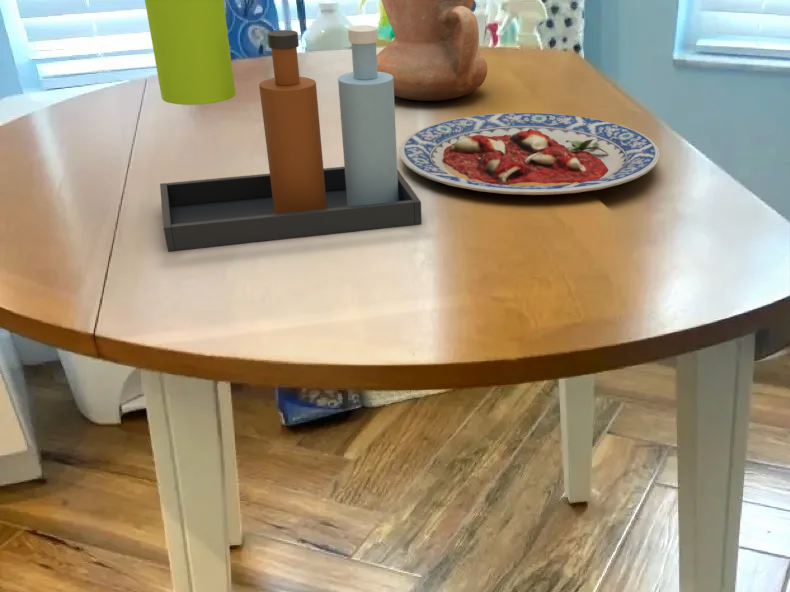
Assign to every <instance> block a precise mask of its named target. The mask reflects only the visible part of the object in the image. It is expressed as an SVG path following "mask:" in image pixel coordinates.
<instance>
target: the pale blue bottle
mask: <svg viewBox="0 0 790 592" xmlns="http://www.w3.org/2000/svg"><path fill="white" fill-rule="evenodd" d="M378 29H379V28H378V27H377V26H375V25H367V24H366V25H365V24H364V25H363V24H362V25H354V26H350V27H348V28H347V37H348V42H349V43H350V44H351V58H352V71H351V72H347V73H344V74H341V75H339V76H338V78H337V82H338V83H337V85H338V97H339V110H340V112H339V113H340V123H341V137H342V150H343V163H344V166H343V167H345V179H346V192H347V206H358V205H368V204H378V203H388V202H397V201H399V197H398V174H397V169H398V155H397V154H398V153H397V130H396V129H397V128H396V108H395V96H394V82H393V76H392V75H391V74H388V73H384V72H377V54H378V53H377V43H378V42H379V30H378Z"/></svg>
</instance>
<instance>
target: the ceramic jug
mask: <svg viewBox="0 0 790 592" xmlns="http://www.w3.org/2000/svg"><path fill="white" fill-rule="evenodd" d="M380 1H381V3H382V6H383V9H384V12H385V15H386V17H387V20H388V22H389V25H390V26H391V29H392V32H393V33H394V38H393V40H392V41H391V42H389V44H388V45H386V46H385V47H384V48H383V49H381V50H380V51H379V52H378V53H376V54H377V72H384V73H388V74H391V75H392V76H393V82H394V97H398V98H401V99H403V100H404V99H405V100H410V101H420V102H421V101H422V102H438V101H439V102H440V101H447V100H452V99H457V98H460V97H463V96H465V95H469V94H470V93H473V92H474V91H476V90H478V88H480V87H481V86H482V85H483V84H484V82H485V81H486V79H487V75H488V64H487V61H486V58H485V57H484V55H483V54H482V52H480V51H479V50H478V49H479V45H480V44H479V43H480V29H479V24H478V20H477V19H478V18H477V16H476V14H474V12H473V11H472V8H473V5H474V2H475V1H474V0H380Z"/></svg>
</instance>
